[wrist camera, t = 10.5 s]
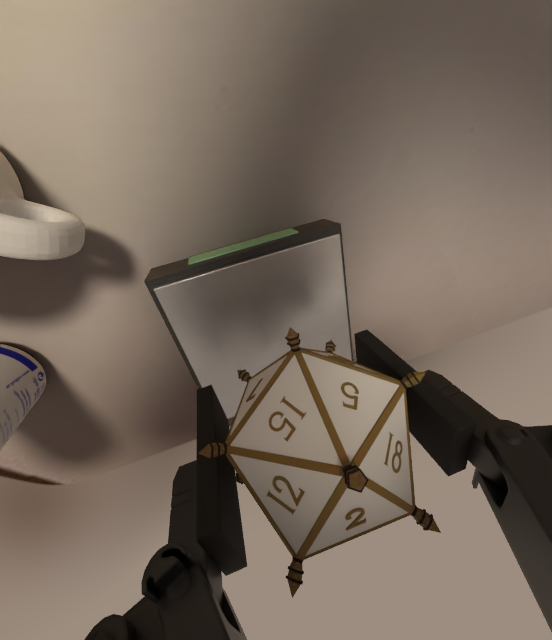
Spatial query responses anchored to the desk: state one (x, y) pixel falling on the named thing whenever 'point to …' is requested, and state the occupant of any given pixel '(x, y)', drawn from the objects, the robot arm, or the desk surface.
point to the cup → (34, 224)
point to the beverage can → (17, 388)
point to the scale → (237, 254)
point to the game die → (323, 450)
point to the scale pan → (258, 312)
